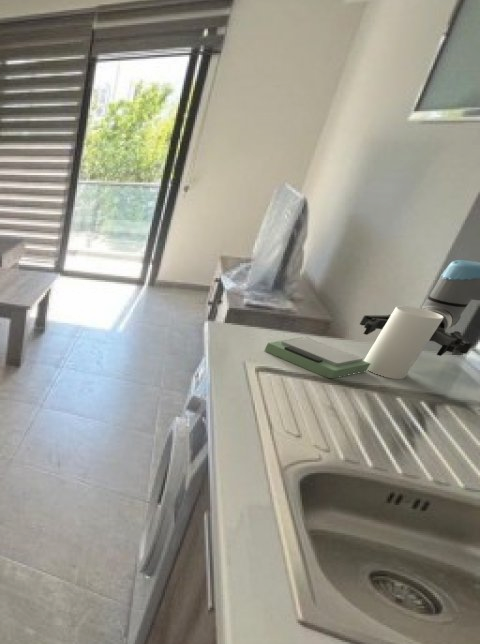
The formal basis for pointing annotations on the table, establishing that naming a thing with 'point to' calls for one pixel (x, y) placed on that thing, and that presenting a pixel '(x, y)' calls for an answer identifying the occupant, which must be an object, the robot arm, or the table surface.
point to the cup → (402, 341)
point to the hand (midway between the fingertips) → (403, 339)
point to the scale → (317, 357)
